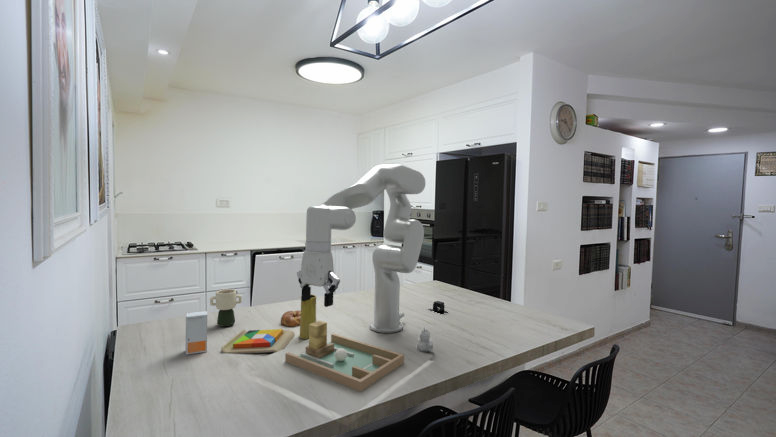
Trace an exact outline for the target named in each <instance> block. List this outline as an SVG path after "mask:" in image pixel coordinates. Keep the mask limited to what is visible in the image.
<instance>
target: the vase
mask: <svg viewBox="0 0 776 437" xmlns="http://www.w3.org/2000/svg"><path fill="white" fill-rule="evenodd" d="M301 299H302V295H301V296H300V311H301V319H300V325H299V338H300V339H302V340H303V339H304V340H309V324H312V323H315V322H317V296H316V295H314V294H311V297H310V300H306V301H302V300H301Z"/></svg>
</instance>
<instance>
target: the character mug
mask: <svg viewBox="0 0 776 437" xmlns="http://www.w3.org/2000/svg"><path fill="white" fill-rule="evenodd" d="M237 298H238V300H237ZM242 298H243V297H242V294H237V290H236V289H232V288H231V289H229V288H227V289H226V288H225V289H220V290H217V291H216V292H215V296H211V297H210V299H209V302H210V306H211V307H216V309H217V310H218V314H217V319H216V320H217V322H216V324H217V325H218V326H220V327H227V326H231V325H234V324H235V322H236V317H235V311H234V309H235V308H236V306H237V304H242V300H243V299H242ZM214 300H215V302H214Z"/></svg>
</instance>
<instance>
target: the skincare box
mask: <svg viewBox="0 0 776 437" xmlns="http://www.w3.org/2000/svg"><path fill="white" fill-rule="evenodd" d="M207 352H208V310H204V311H203V310H202V311H194V312H188V313H185V355H186V356H189V355H192V354H193V355H194V354H200V353H201V354H202V353H207Z"/></svg>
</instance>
